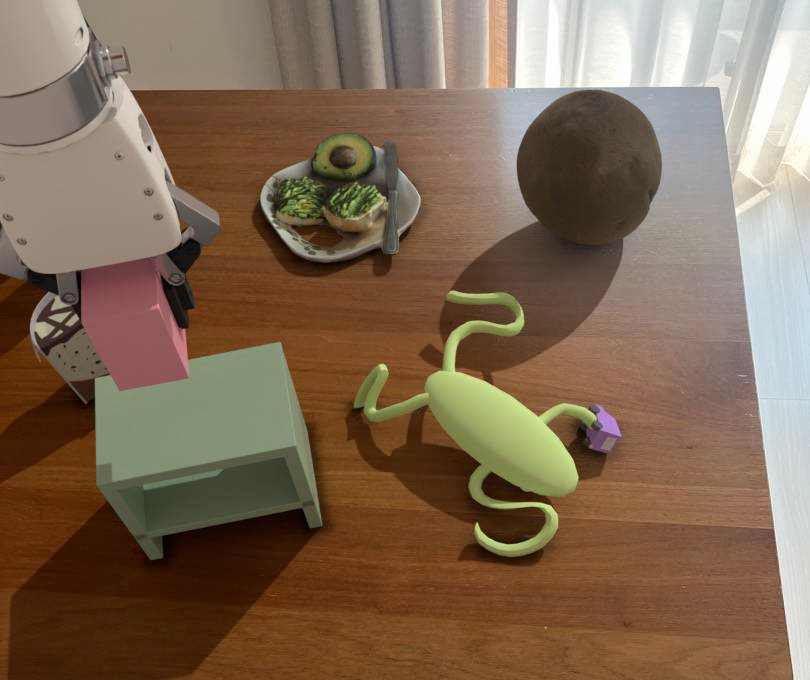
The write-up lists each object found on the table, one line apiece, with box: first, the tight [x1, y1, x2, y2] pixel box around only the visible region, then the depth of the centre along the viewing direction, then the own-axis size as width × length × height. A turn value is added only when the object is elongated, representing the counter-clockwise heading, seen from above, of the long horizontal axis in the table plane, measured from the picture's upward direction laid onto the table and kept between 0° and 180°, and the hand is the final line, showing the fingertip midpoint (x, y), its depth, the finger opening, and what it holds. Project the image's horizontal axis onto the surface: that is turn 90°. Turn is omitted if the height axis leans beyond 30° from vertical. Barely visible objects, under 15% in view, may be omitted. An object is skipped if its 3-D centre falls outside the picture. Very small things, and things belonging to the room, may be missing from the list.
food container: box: [29, 291, 110, 405], centre depth 88 cm, size 12×6×10 cm, turn 126°
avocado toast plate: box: [259, 132, 421, 263], centre depth 99 cm, size 19×18×5 cm
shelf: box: [94, 341, 323, 561], centre depth 78 cm, size 16×11×13 cm
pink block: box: [80, 258, 189, 391], centre depth 61 cm, size 5×9×7 cm, turn 10°
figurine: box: [353, 290, 623, 558], centre depth 83 cm, size 18×27×6 cm
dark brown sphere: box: [516, 89, 663, 246], centre depth 90 cm, size 14×14×15 cm
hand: (143, 319), depth 63 cm, fingers closed on pink block, 5 cm apart
